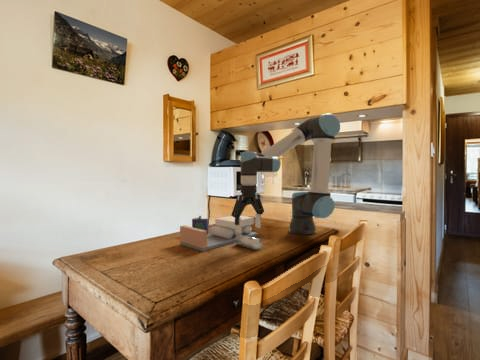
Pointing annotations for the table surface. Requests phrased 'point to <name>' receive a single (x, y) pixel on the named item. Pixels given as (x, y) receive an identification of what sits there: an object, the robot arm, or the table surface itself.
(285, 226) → the table surface
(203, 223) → the flask
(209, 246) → the roller bed
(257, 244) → the loose roller
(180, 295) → the table surface
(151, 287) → the table surface
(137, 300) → the table surface
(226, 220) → the stone slab
